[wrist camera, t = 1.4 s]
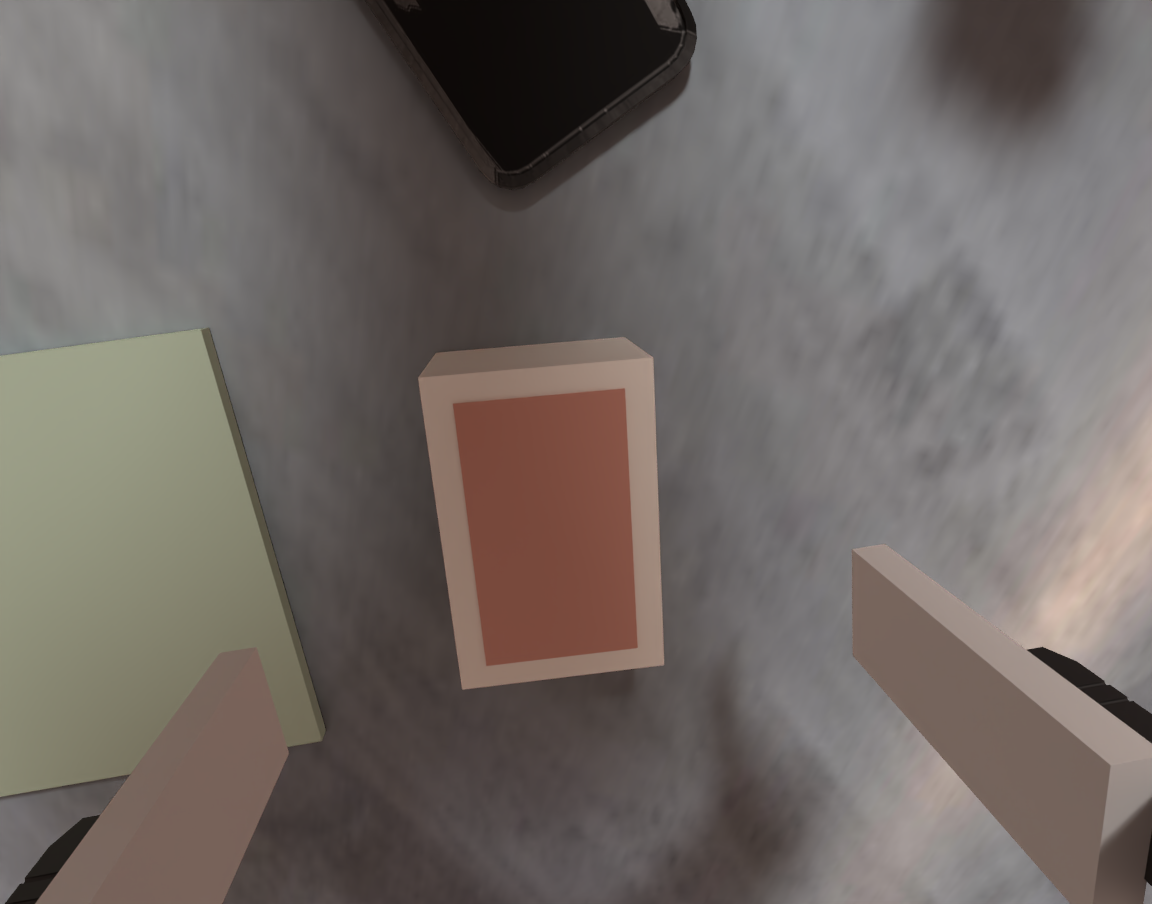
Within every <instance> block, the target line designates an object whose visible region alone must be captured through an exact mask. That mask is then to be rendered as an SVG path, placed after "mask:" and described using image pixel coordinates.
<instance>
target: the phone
mask: <svg viewBox="0 0 1152 904" xmlns="http://www.w3.org/2000/svg"><path fill="white" fill-rule="evenodd" d="M365 1H366V3H367V4H368V6H369V7H370V8H371V10H372V11H373V13H374V14H375V16H376V17H377V19H378V20H379V22H380V23H381V25H382V26H383V28H384V29H385V31H386V32H387V34H388V35H389V37H390V38H391V40H392V41H393V42H394V44H395V45H396V47H397V48H398V50H399V51H400V53H401V54H402V56H403V57H404V59H405V60H406V62H407V63H408V65H409V66H410V68H411V69H412V71H413V72H414V73H415V75H416V76H417V78H418V79H419V81H420V82H421V84H422V85H423V87H424V88H425V90H426V91H427V93H428V94H429V96H430V97H431V99H432V100H433V102H434V103H435V105H436V106H437V107H438V109H439V110H440V112H441V113H442V115H443V116H444V118H445V119H446V121H447V122H448V124H449V125H450V127H451V128H452V130H453V131H454V133H455V134H456V136H457V137H458V138H459V140H460V141H461V143H462V144H463V146H464V147H465V149H466V150H467V152H468V153H469V155H470V156H471V158H472V159H473V161H474V162H475V164H476V165H477V167H478V168H479V169H480V171H481V172H482V174H483V175H484V176H485V177H486V178H487V179H488V180H489V181H490V182H492V183H493V184H495V185H497V186H499V187H501V188H506V189H511V190H512V189H520V188H524V187H526V186H528V185H530V184H532V183H533V182H535V181H536V180H537V179H539V178H540V177H541V176H543V175H544V174H545V173H547V171H549V170H551V169H552V168H554V167H555V166H556V165H558V164H559V163H560V162H562V161H563V160H564V159H566V158H567V157H568V156H570V155H571V154H572V153H574V152H575V151H577V150H578V149H579V148H581V147H582V146H583V145H585V144H586V143H587V142H589V141H590V140H591V139H593V138H594V137H595V136H597V135H598V134H600V133H601V132H602V131H604V130H605V129H606V128H608V127H609V126H610V125H612V124H613V123H614V122H616V121H617V120H618V119H620V118H621V117H622V116H624V115H625V114H627V113H628V112H629V111H631V110H632V109H633V108H635V107H636V106H637V105H639V104H640V103H641V102H643V101H644V100H645V99H647V98H648V97H650V96H651V95H652V94H654V93H655V92H656V91H658V90H659V89H660V88H662V87H663V86H664V85H666V84H667V83H668V82H670V81H671V80H673V79H674V78H675V77H676V76H677V75H678V74H679V73H680V72H681V71H682V70H683V68H684V67H685V66H686V65H687V64H688V63H689V61H690V59H691V57H692V55H693V53H694V50H695V45H696V40H697V35H696V24H695V21H694V18H693V16H692V13H691V11H690V9H689V7H688V5H687V3H686V1H685V0H365Z"/></svg>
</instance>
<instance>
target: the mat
mask: <svg viewBox="0 0 1152 904" xmlns="http://www.w3.org/2000/svg"><path fill="white" fill-rule="evenodd" d="M253 647H257V650H258V653H259V657H260V660H261V663H262V666H263V670H264V673H265V676H266V680H267V683H268V686H269V689H270V693H271V696H272V699H273V702H274V706H275V709H276V712H277V716H278V719H279V722H280V725H281V729H282V732H283V735H284V738H285V742H286V745H287V747H291V746H297V745H302V744H308V743H314V742H320V741H322V740H323V737H324V735H325V732H326V729H325V725H324V722H323V718H322V715H321V711H320V708H319V705H318V701H317V698H316V694H315V691H314V687H313V684H312V681H311V677H310V674H309V670H308V667H307V663H306V660H305V656H304V653H303V650H302V646H301V643H300V639H299V636H298V632H297V629H296V626H295V622H294V619H293V615H292V612H291V608H290V605H289V601H288V598H287V595H286V591H285V588H284V584H283V581H282V577H281V574H280V571H279V567H278V564H277V560H276V557H275V553H274V550H273V546H272V543H271V540H270V536H269V533H268V529H267V526H266V522H265V519H264V515H263V512H262V509H261V505H260V502H259V498H258V495H257V491H256V488H255V485H254V481H253V478H252V474H251V471H250V467H249V464H248V460H247V457H246V454H245V450H244V447H243V443H242V440H241V436H240V433H239V430H238V426H237V423H236V419H235V416H234V412H233V409H232V405H231V402H230V399H229V395H228V392H227V388H226V385H225V381H224V378H223V375H222V371H221V368H220V364H219V361H218V357H217V354H216V350H215V347H214V344H213V340H212V337H211V333H210V330H209V328H202V329H195V330H187V331H180V332H173V333H165V334H158V335H150V336H143V337H136V338H128V339H121V340H113V341H106V342H98V343H91V344H84V345H76V346H69V347H61V348H54V349H47V350H39V351H32V352H24V353H17V354H10V355H2V356H0V797H2V796H8V795H14V794H19V793H25V792H31V791H37V790H42V789H48V788H54V787H60V786H66V785H71V784H77V783H83V782H89V781H94V780H100V779H106V778H112V777H117V776H123V775H129V774H131V773H132V771H133V770H134V769H135V767H136V766H137V765H138V763H139V762H140V761H141V759H142V758H143V757H144V755H145V754H146V752H147V751H148V750H149V748H150V747H151V746H152V744H153V743H154V742H155V740H156V739H157V738H158V736H159V735H160V733H161V732H162V731H163V729H164V728H165V727H166V725H167V724H168V723H169V721H170V720H171V718H172V717H173V716H174V714H175V713H176V712H177V710H178V709H179V708H180V706H181V705H182V704H183V702H184V701H185V699H186V698H187V697H188V695H189V694H190V693H191V691H192V690H193V689H194V687H195V686H196V684H197V683H198V682H199V680H200V679H201V678H202V676H203V675H204V674H205V672H206V671H207V670H208V668H209V667H210V665H211V664H212V663H213V661H214V660H215V659H216V657H217V656H218V655H219V653H222V652H228V651H235V650H241V649H247V648H253Z"/></svg>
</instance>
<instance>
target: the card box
mask: <svg viewBox="0 0 1152 904" xmlns="http://www.w3.org/2000/svg"><path fill="white" fill-rule="evenodd" d="M418 381H419V389H420V396H421V403H422V410H423V417H424V424H425V431H426V438H427V445H428V452H429V459H430V466H431V473H432V480H433V487H434V494H435V501H436V508H437V515H438V523H439V530H440V537H441V544H442V551H443V558H444V565H445V572H446V579H447V586H448V593H449V600H450V607H451V614H452V621H453V628H454V635H455V642H456V649H457V657H458V664H459V671H460V678H461V685H462V690H464V689H472V688H480V687H489V686H497V685H505V684H513V683H521V682H530V681H538V680H546V679H554V678H563V677H571V676H579V675H587V674H595V673H604V672H612V671H620V670H628V669H636V668H645V667H653V666H661V665H664V645H663V617H662V589H661V561H660V533H659V505H658V477H657V449H656V421H655V393H654V365H653V357H652V356H651V355H649V354H648V353H646V352H645V351H643V350H642V349H641V348H639V347H638V346H636V345H635V344H634V343H632V342H631V341H629V340H628V339H627V338H625V337H617V338H606V339H594V340H582V341H570V342H558V343H546V344H534V345H522V346H510V347H498V348H486V349H474V350H462V351H450V352H439V353H435V355H434V356H433V358H432V359H431V360H430V362H429V363H428V365H427V366H426V367H425V369H424V370H423V371H422V373H421V374H420V376H419V377H418Z"/></svg>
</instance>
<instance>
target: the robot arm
mask: <svg viewBox="0 0 1152 904" xmlns="http://www.w3.org/2000/svg"><path fill="white" fill-rule="evenodd" d="M852 620H853V656H854V657H855V659H856V660H857V661H858V662H859V663H860V664H861V665H862V667H863V668H864V669H865V670H866V671H867V672H868V673H869V675H870V676H871V677H872V678H873V679H874V680H875V681H876V682H877V684H878V685H879V686H880V687H881V688H882V689H883V690H884V692H885V693H886V694H887V695H888V696H889V697H890V698H891V700H892V701H893V702H894V703H895V704H896V705H897V706H898V708H899V709H900V710H901V711H902V712H903V713H904V714H905V716H906V717H907V718H908V719H909V720H910V721H911V722H912V724H913V725H914V726H915V727H916V728H917V729H918V730H919V732H920V733H921V734H922V735H923V736H924V737H925V738H926V740H927V741H928V742H929V743H930V744H931V745H932V746H933V747H934V749H935V750H936V751H937V752H938V753H939V754H940V755H941V757H942V758H943V759H944V760H945V761H946V762H947V763H948V765H949V766H950V767H951V768H952V769H953V770H954V771H955V773H956V774H957V775H958V776H959V777H960V778H961V779H962V781H963V782H964V783H965V784H966V785H967V786H968V787H969V789H970V790H971V791H972V792H973V793H974V794H975V795H976V797H977V798H978V799H979V800H980V801H981V802H982V803H983V804H984V806H985V807H986V808H987V809H988V810H989V811H990V812H991V814H992V815H993V816H994V817H995V818H996V819H997V820H998V822H999V823H1000V824H1001V825H1002V826H1003V827H1004V828H1005V830H1006V831H1007V832H1008V833H1009V834H1010V835H1011V836H1012V838H1013V839H1014V840H1015V841H1016V842H1017V843H1018V844H1019V846H1020V847H1021V848H1022V849H1023V850H1024V851H1025V852H1026V854H1027V855H1028V856H1029V857H1030V858H1031V859H1032V860H1033V861H1034V863H1035V864H1036V865H1037V866H1038V867H1039V868H1040V869H1041V871H1042V872H1043V873H1044V874H1045V875H1046V876H1047V877H1048V879H1049V880H1050V881H1051V882H1052V883H1053V884H1054V885H1055V887H1056V888H1057V889H1058V890H1059V891H1060V892H1061V893H1062V895H1063V896H1064V897H1065V898H1066V899H1067V900H1068V901H1069V903H1070V904H1143V901H1144V895H1145V889H1146V883H1147V882H1148V883H1149V884H1150V885H1151V886H1152V714H1151V713H1149V712H1148V711H1146V710H1145V709H1144V708H1142V707H1141V706H1139V705H1138V704H1136V703H1135V702H1134V701H1130V702H1129V701H1128V699H1127V696H1125V695H1124V694H1122V693H1121V692H1119V691H1118V690H1117V689H1115V688H1114V687H1112V686H1111V685H1106V684H1105V682H1104V680H1102V679H1101V678H1099V677H1098V676H1097V675H1095V674H1094V673H1092V672H1091V671H1090V670H1088V669H1087V668H1085V667H1084V666H1082V665H1081V664H1080V663H1078V662H1077V661H1074V660H1072V659H1070V658H1067V657H1065V656H1062V655H1060V654H1058V653H1055V652H1053V651H1051V650H1048V649H1046V648H1044V647H1040V648H1034V649H1028V650H1026V649H1025V648H1023V647H1022V646H1021V645H1019V644H1018V643H1017V642H1015V641H1014V640H1013V639H1011V638H1010V637H1009V636H1007V635H1006V634H1005V633H1003V632H1002V631H1001V630H999V629H998V628H997V627H995V626H994V625H993V624H991V623H990V622H989V621H987V620H986V619H985V618H983V617H982V616H981V615H979V614H978V613H976V612H975V611H974V610H972V609H971V608H970V607H968V606H967V605H966V604H964V603H963V602H962V601H960V600H959V599H958V598H956V597H955V596H954V595H952V594H951V593H950V592H948V591H947V590H946V589H944V588H943V587H942V586H940V585H939V584H938V583H936V582H935V581H934V580H932V579H931V578H930V577H928V576H927V575H926V574H924V573H923V572H922V571H920V570H919V569H918V568H916V567H915V566H914V565H912V564H911V563H910V562H908V561H907V560H906V559H904V558H903V557H902V556H900V555H899V554H898V553H896V552H895V551H894V550H892V549H891V548H890V547H888V546H887V545H886V544H881V545H875V546H869V547H863V548H857V549H852ZM288 755H289V751H288V748H287V745H286V742H285V738H284V735H283V732H282V729H281V725H280V722H279V719H278V716H277V712H276V709H275V706H274V702H273V699H272V696H271V693H270V689H269V686H268V683H267V680H266V676H265V673H264V670H263V666H262V663H261V660H260V657H259V653H258V650H257V647H253V648H247V649H241V650H235V651H228V652H222V653H219V655H218V656H217V657H216V659H215V660H214V661H213V663H212V664H211V665H210V667H209V668H208V670H207V671H206V672H205V674H204V675H203V676H202V678H201V679H200V680H199V682H198V683H197V684H196V686H195V687H194V689H193V690H192V691H191V693H190V694H189V695H188V697H187V698H186V699H185V701H184V702H183V704H182V705H181V706H180V708H179V709H178V710H177V712H176V713H175V714H174V716H173V717H172V718H171V720H170V721H169V723H168V724H167V725H166V727H165V728H164V729H163V731H162V732H161V733H160V735H159V736H158V738H157V739H156V740H155V742H154V743H153V744H152V746H151V747H150V748H149V750H148V751H147V752H146V754H145V755H144V757H143V758H142V759H141V761H140V762H139V763H138V765H137V766H136V767H135V769H134V770H133V771H132V773H131V774H130V776H129V777H128V778H127V780H126V781H125V782H124V784H123V785H122V786H121V788H120V789H119V791H118V792H117V793H116V795H115V796H114V797H113V799H112V800H111V801H110V803H109V804H108V805H107V807H106V808H105V810H104V811H103V812H102V814H101V815H98V816H92V817H87V818H83V819H81V820H80V821H79V822H78V823H77V824H75V825H74V826H73V827H72V828H71V829H70V830H68V831H67V832H66V833H65V834H64V835H63V836H61V837H60V838H59V839H58V840H57V841H56V842H54V843H53V844H52V845H51V846H50V847H49V848H48V849H47V850H46V852H45V853H44V854H43V856H42V857H41V858H40V859H39V861H38V862H37V863H36V865H35V866H34V867H33V868H32V870H31V871H30V872H29V873H28V875H27V876H26V877H25V882H24V884H20V885H19V886H18V887H17V889H16V890H15V891H14V893H13V894H12V895H11V896H10V898H9V899H8V900H7V902H6V903H5V904H222V903H223V901H224V899H225V896H226V894H227V892H228V890H229V887H230V885H231V883H232V881H233V878H234V876H235V874H236V872H237V869H238V867H239V865H240V863H241V860H242V858H243V856H244V854H245V851H246V849H247V847H248V845H249V842H250V840H251V838H252V836H253V833H254V831H255V829H256V827H257V824H258V822H259V820H260V818H261V815H262V813H263V811H264V809H265V806H266V804H267V802H268V800H269V797H270V795H271V793H272V791H273V788H274V786H275V784H276V782H277V779H278V777H279V775H280V773H281V770H282V768H283V766H284V764H285V761H286V759H287V757H288Z"/></svg>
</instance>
